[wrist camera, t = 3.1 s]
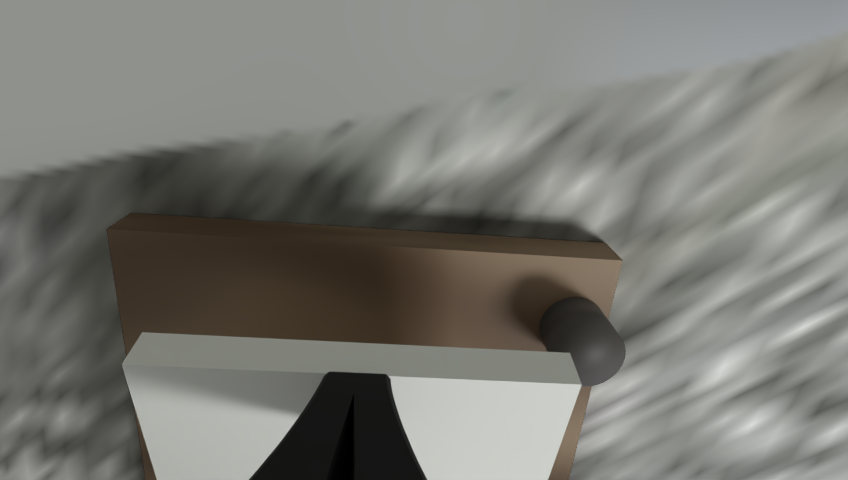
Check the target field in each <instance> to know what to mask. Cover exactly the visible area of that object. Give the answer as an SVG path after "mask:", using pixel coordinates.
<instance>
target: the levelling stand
mask: <svg viewBox="0 0 848 480" xmlns="http://www.w3.org/2000/svg"><path fill="white" fill-rule="evenodd" d="M107 235H108V242H109V248H110V254H111V261H112V267H113V274H114V280H115V287H116V293H117V299H118V306H119V312H120V319H121V325H122V332H123V338H124V344H125V351H126V357H127V355H128V354H129V352H130V351H131V349H132V347H133V346H134V344H135V343H136V341H137V340H138V338H139V337H140V335H141V334H142V332H148V333H169V334H189V335H210V336H231V337H252V338H272V339H293V340H314V341H334V342H355V343H376V344H397V345H417V346H438V347H459V348H480V349H500V350H521V351H542V352H563V353H570V354H571V357H572V360H573V362H574V365H575V368H576V370H577V373H578V376H579V378H580V381H581V384H582V385H581V388H580V391H579V394H578V397H577V400H576V402H575V405H574V408H573V411H572V414H571V416H570V419H569V422H568V425H567V428H566V431H565V433H564V436H563V439H562V442H561V445H560V447H559V450H558V453H557V456H556V459H555V461H554V464H553V467H552V470H551V473H550V476H549V478H548V480H569V476H570V472H571V468H572V464H573V460H574V456H575V452H576V448H577V444H578V440H579V436H580V432H581V428H582V424H583V420H584V415H585V411H586V407H587V403H588V399H589V395H590V391H591V387H592V386H593V385H597V384H600V383H603V382H605V381H606V380H608V379H610V378H611V377H612V376H614V375H615V374H616V373H617V371H618V370H619V369H620V367H621V366H622V364H623V362H624V359H625V345H624V342H623V340H622V338H621V337H620V336H619V334H618V333H617V331H616V330H615V329H614V327H613V326H612V325H611V323H610V322H609V320H608V318H609V314H610V310H611V306H612V302H613V298H614V294H615V290H616V286H617V282H618V278H619V274H620V269H621V265H622V261H623V260H622V259H621V258H620V257H619V256H618V255H617V254H616V253H615V252H614V251H613V250H612V249H611V248H610V247H609V246H608V245H607V244H606V243H599V242H583V241H568V240H552V239H536V238H520V237H504V236H489V235H473V234H457V233H441V232H425V231H409V230H394V229H378V228H362V227H346V226H330V225H314V224H299V223H283V222H267V221H251V220H235V219H220V218H204V217H188V216H172V215H156V214H140V213H130V214H129V215H127V216H126V217H124V218H122V219H121V220H119V221H118V222H116V223H115V224H113V225H112V226H110V227H109V228H107ZM134 409H135V407H134ZM135 415H136V422H137V428H138V434H139V441H140V447H141V454H142V460H143V467H144V473H145V480H157V479H156V475H155V472H154V469H153V466H152V462H151V459H150V456H149V452H148V449H147V446H146V443H145V439H144V436H143V433H142V430H141V426H140V423H139V420H138V416H137V413H136V410H135Z"/></svg>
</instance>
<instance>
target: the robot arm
mask: <svg viewBox="0 0 848 480" xmlns="http://www.w3.org/2000/svg"><path fill="white" fill-rule="evenodd" d="M249 480H427V478H426V476H425V474H424V472H423V470H422V468H421V466H420V464H419V462H418V460H417V458H416V456H415V454H414V451H413V449H412V447H411V444H410V442H409V440H408V437H407V435H406V432H405V430H404V427H403V425H402V422H401V419H400V417H399V413H398V410H397V407H396V404H395V400H394V397H393V392H392V387H391V379H390V378H389V377H388V376H387V375H386V374H376V373H353V372H330V371H329V372H328V373H327V374H325V375H324V377H323V379H322V381H321V383H320V384H319V386H318V388H317V390H316V391H315V393H314V395H313V396H312V398H311V399H310V401H309V403H308V404H307V406H306V407H305V409H304V410H303V412H302V413H301V415H300V416H299V417H298V419H297V420H296V421H295V423H294V424H293V426H292V427H291V428H290V430H289V431H288V432H287V434H286V435H285V437H284V438H283V439H282V440H281V442H280V443H279V444H278V446H277V447H276V448H275V449H274V450H273V452H272V453H271V454H270V455H269V456H268V458H267V459H266V460H265V461H264V462H263V464H262V465H261V466H260V467H259V468H258V470H257V471H256V472H255V473H254V474H253V475H252V476H251V478H250V479H249Z"/></svg>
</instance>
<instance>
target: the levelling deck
mask: <svg viewBox="0 0 848 480" xmlns="http://www.w3.org/2000/svg"><path fill="white" fill-rule="evenodd" d="M122 367H123V371H124V374H125V377H126V381H127V384H128V387H129V390H130V394H131V397H132V400H133V403H134V407H135V410H136V413H137V416H138V420H139V423H140V426H141V430H142V433H143V436H144V439H145V443H146V446H147V449H148V452H149V456H150V459H151V462H152V466H153V469H154V472H155V475H156V479H157V480H249V479H250V478H251V476H252V475H253V474H254V473H255V472H256V471H257V470H258V468H259V467H260V466H261V465H262V464H263V462H264V461H265V460H266V459H267V458H268V456H269V455H270V454H271V453H272V452H273V450H274V449H275V448H276V447H277V446H278V444H279V443H280V442H281V440H282V439H283V438H284V437H285V435H286V434H287V432H288V431H289V430H290V428H291V427H292V426H293V424H294V423H295V421H296V420H297V419H298V417H299V416H300V415H301V413H302V412H303V410H304V409H305V407H306V406H307V404H308V403H309V401H310V399H311V398H312V396H313V395H314V393H315V391H316V390H317V388H318V386H319V384H320V383H321V381H322V379H323V377H324V375H325V374H327V373H328V372H329V371H330V372H353V373H376V374H386V375H387V376H388V377H389V378H390V379H391V387H392V392H393V397H394V400H395V404H396V407H397V410H398V413H399V417H400V419H401V422H402V425H403V427H404V430H405V432H406V435H407V437H408V440H409V442H410V444H411V447H412V449H413V451H414V454H415V456H416V458H417V460H418V462H419V464H420V466H421V468H422V470H423V472H424V474H425V476H426V478H427V480H548V478H549V476H550V473H551V470H552V467H553V464H554V461H555V459H556V456H557V453H558V450H559V447H560V445H561V442H562V439H563V436H564V433H565V431H566V428H567V425H568V422H569V419H570V416H571V414H572V411H573V408H574V405H575V402H576V400H577V397H578V394H579V391H580V388H581V385H582V384H581V381H580V378H579V376H578V373H577V370H576V368H575V365H574V362H573V360H572V357H571V354H570V353H563V352H542V351H521V350H500V349H480V348H459V347H438V346H417V345H397V344H376V343H355V342H334V341H314V340H293V339H272V338H252V337H231V336H210V335H189V334H169V333H148V332H142V334H141V335H140V337H139V338H138V340H137V341H136V343H135V344H134V346H133V347H132V349H131V351H130V352H129V354H128V355H127V357H126V358H125V360H124V361H123V363H122Z"/></svg>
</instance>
